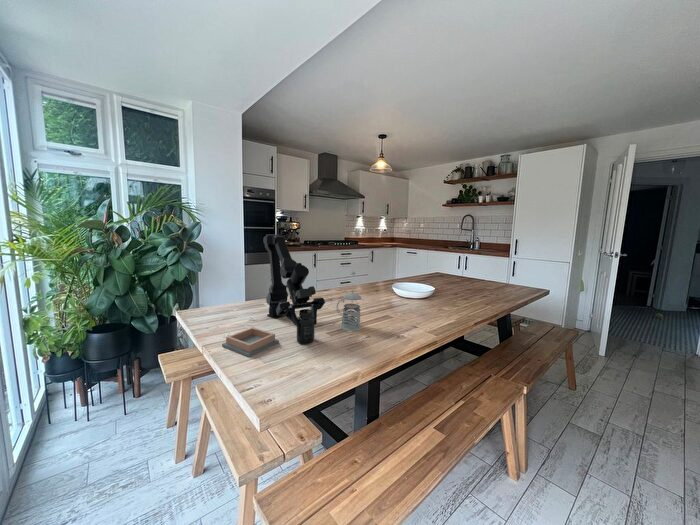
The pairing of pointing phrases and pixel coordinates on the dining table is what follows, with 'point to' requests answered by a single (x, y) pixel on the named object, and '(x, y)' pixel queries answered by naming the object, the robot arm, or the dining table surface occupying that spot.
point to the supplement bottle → (305, 327)
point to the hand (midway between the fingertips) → (307, 325)
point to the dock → (250, 341)
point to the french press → (351, 313)
